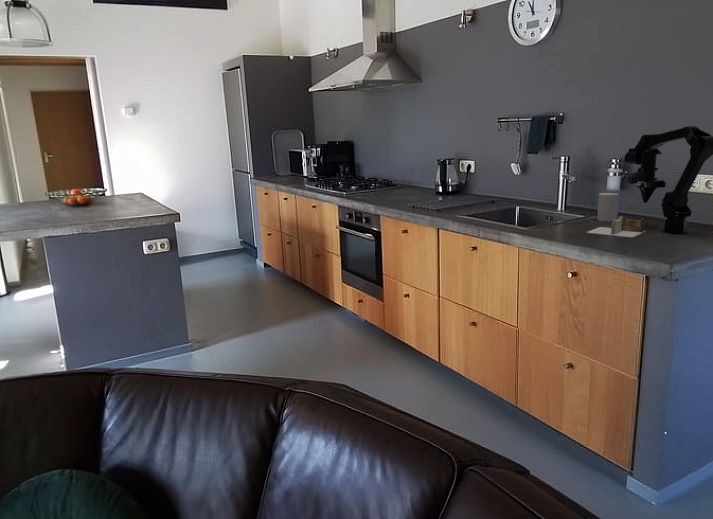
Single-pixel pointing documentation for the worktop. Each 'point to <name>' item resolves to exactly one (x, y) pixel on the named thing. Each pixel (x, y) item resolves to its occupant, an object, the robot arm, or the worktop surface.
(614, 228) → the fence panel
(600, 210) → the gray block
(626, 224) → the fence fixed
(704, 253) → the worktop surface
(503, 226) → the worktop surface
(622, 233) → the card
